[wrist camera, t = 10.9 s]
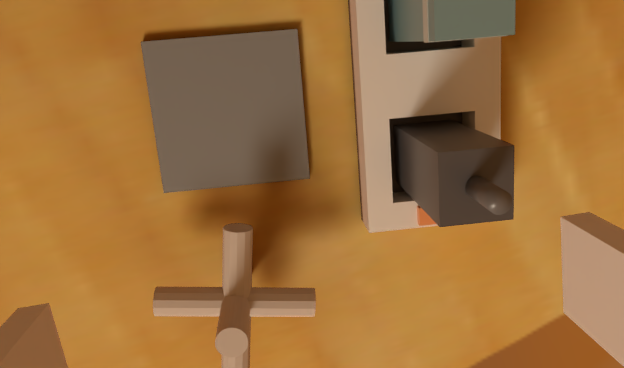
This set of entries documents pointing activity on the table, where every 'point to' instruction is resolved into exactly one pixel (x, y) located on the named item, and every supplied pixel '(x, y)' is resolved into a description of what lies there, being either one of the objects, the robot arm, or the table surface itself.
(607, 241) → the robot arm
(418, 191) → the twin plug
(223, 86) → the pad
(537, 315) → the table surface
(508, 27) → the plug
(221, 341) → the pipe connector
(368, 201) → the power strip
